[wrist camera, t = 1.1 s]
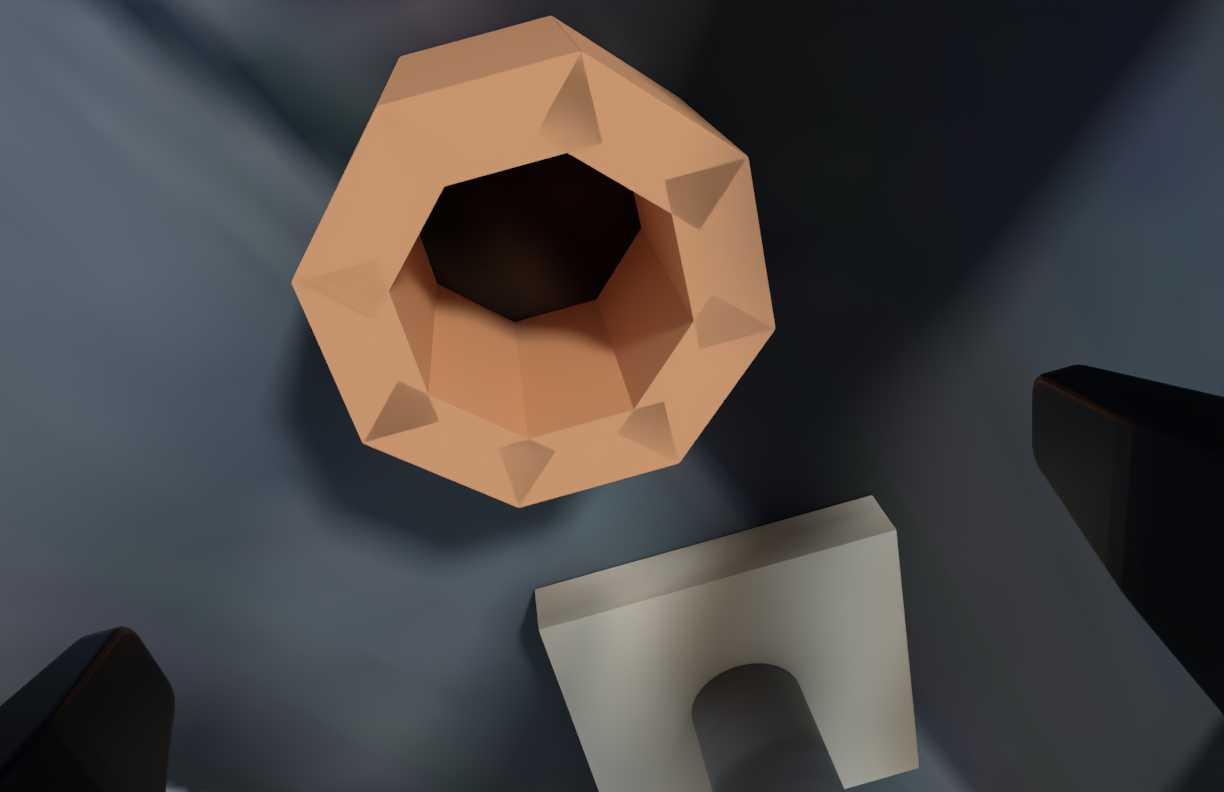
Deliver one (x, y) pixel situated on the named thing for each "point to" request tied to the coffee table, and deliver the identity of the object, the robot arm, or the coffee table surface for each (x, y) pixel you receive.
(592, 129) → the ring
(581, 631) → the shaft block
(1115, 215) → the coffee table surface
